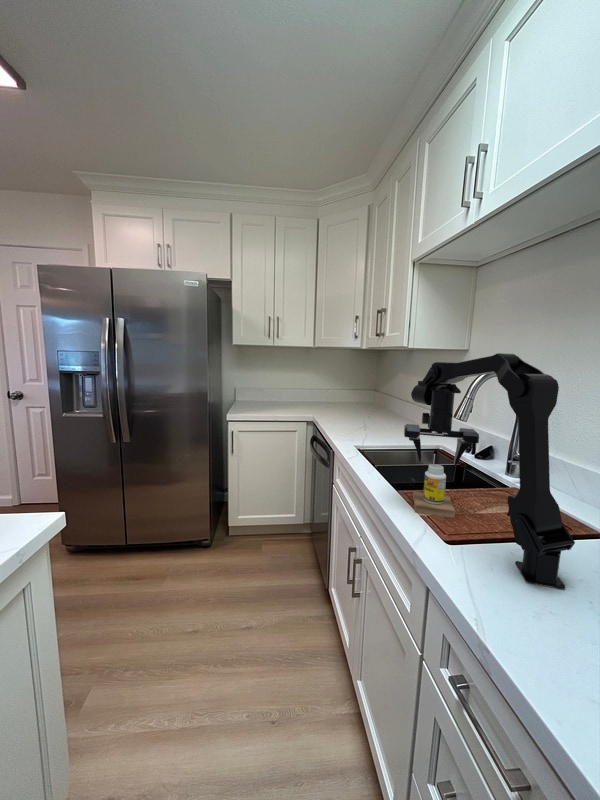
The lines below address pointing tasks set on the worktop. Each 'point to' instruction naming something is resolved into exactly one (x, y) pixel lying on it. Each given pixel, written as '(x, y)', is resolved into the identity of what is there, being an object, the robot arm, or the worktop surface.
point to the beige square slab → (433, 506)
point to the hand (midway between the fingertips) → (437, 463)
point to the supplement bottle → (434, 484)
